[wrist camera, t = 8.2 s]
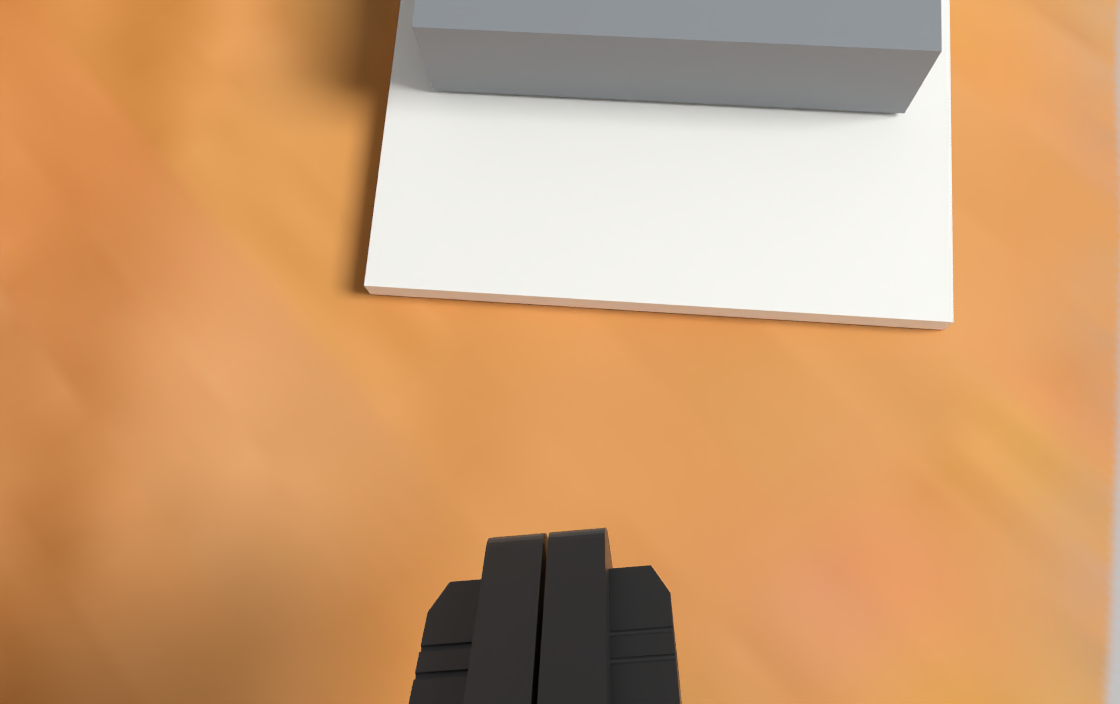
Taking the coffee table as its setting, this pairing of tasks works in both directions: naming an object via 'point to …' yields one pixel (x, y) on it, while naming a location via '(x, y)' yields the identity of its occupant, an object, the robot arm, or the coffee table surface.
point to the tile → (686, 50)
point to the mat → (666, 202)
